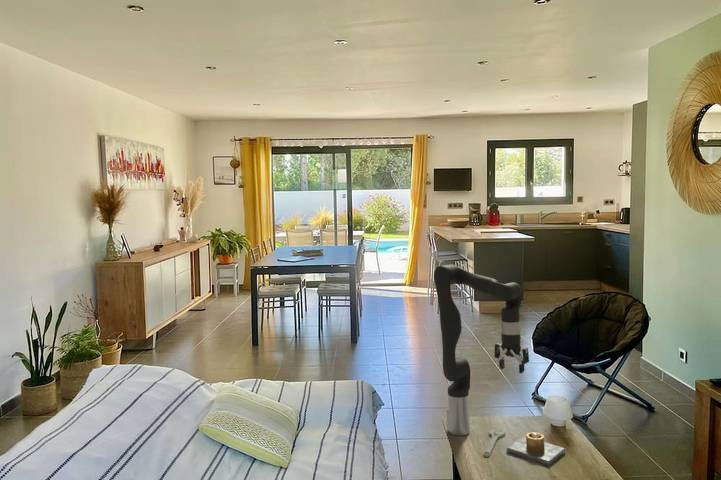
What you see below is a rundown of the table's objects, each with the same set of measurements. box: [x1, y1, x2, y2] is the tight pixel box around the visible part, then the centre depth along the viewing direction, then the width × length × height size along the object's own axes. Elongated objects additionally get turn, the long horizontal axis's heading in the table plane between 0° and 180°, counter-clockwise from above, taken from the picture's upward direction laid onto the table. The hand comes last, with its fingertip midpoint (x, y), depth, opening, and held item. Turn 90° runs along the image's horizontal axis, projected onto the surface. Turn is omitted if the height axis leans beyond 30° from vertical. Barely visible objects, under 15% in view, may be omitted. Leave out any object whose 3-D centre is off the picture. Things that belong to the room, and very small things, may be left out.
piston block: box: [506, 432, 566, 467], centre depth 215 cm, size 18×14×8 cm
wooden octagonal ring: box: [525, 431, 545, 451], centre depth 215 cm, size 6×6×5 cm
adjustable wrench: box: [482, 428, 506, 458], centre depth 225 cm, size 25×6×2 cm, turn 149°
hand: (511, 370), depth 217 cm, fingers open, 8 cm apart
